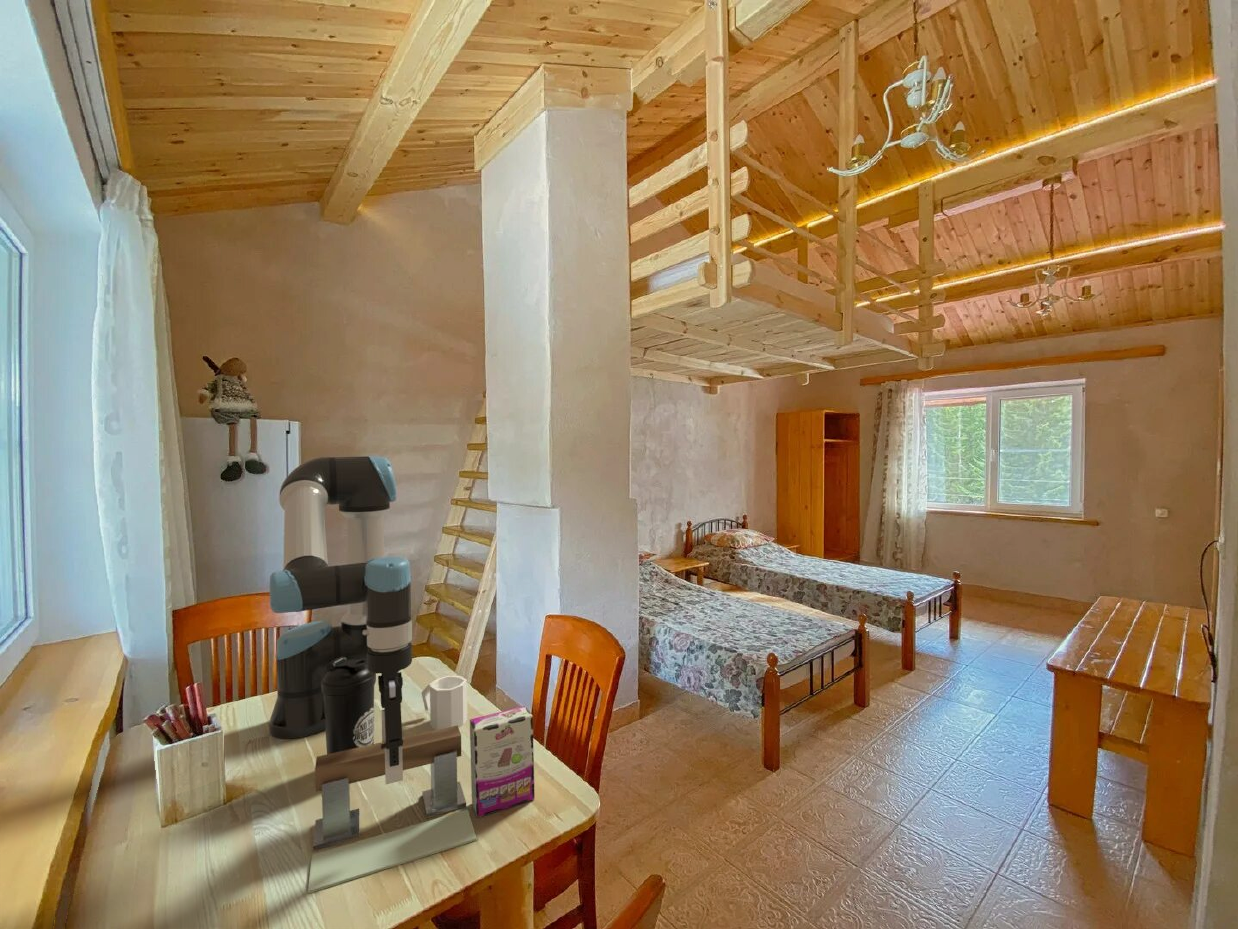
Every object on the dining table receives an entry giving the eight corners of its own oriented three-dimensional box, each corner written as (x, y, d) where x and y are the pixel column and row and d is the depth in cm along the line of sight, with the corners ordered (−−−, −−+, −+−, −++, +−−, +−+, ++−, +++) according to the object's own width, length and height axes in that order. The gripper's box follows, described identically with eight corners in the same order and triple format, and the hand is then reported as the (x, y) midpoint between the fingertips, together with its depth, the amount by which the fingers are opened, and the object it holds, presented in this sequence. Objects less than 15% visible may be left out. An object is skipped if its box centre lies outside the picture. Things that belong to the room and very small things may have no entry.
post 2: (422, 795, 104) (421, 741, 104) (459, 785, 107) (459, 733, 107) (426, 818, 98) (425, 760, 97) (466, 806, 101) (465, 751, 100)
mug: (473, 717, 134) (473, 678, 133) (450, 734, 126) (450, 693, 125) (435, 708, 138) (434, 670, 138) (410, 724, 130) (410, 684, 130)
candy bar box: (527, 785, 107) (526, 704, 106) (535, 800, 103) (534, 715, 102) (469, 803, 102) (468, 717, 101) (475, 819, 97) (474, 730, 97)
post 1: (315, 824, 96) (314, 766, 96) (359, 812, 99) (358, 756, 99) (312, 851, 90) (311, 789, 89) (359, 837, 93) (358, 777, 92)
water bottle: (356, 787, 106) (353, 672, 106) (311, 781, 108) (308, 668, 108) (388, 758, 116) (386, 653, 115) (346, 752, 118) (344, 649, 118)
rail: (317, 779, 95) (316, 756, 94) (457, 745, 105) (457, 725, 105) (315, 792, 91) (314, 769, 91) (461, 756, 101) (461, 735, 101)
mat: (312, 857, 88) (312, 855, 88) (467, 811, 99) (467, 809, 99) (308, 893, 81) (308, 891, 81) (476, 840, 92) (476, 838, 92)
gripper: (365, 627, 107) (367, 733, 107) (367, 674, 84) (370, 807, 85) (406, 622, 110) (408, 724, 111) (418, 665, 88) (421, 794, 88)
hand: (391, 761), depth 98 cm, fingers open, 13 cm apart
